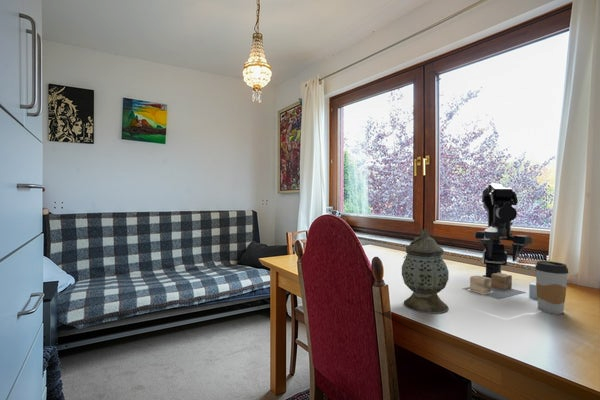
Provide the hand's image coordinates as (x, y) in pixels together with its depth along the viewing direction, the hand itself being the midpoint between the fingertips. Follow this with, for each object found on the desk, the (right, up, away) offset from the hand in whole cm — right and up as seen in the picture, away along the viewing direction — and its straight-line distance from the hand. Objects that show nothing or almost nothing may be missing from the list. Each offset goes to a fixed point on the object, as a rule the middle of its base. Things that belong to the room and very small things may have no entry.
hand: (501, 259), depth 122 cm
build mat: (-6, -12, -4) cm, 14 cm away
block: (+6, -12, -11) cm, 18 cm away
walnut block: (0, -11, 0) cm, 11 cm away
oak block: (-11, -11, -5) cm, 16 cm away
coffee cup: (0, -12, -24) cm, 27 cm away
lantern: (-39, -12, -21) cm, 46 cm away
